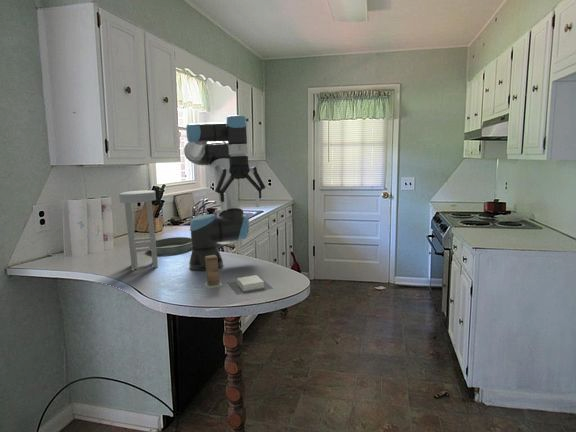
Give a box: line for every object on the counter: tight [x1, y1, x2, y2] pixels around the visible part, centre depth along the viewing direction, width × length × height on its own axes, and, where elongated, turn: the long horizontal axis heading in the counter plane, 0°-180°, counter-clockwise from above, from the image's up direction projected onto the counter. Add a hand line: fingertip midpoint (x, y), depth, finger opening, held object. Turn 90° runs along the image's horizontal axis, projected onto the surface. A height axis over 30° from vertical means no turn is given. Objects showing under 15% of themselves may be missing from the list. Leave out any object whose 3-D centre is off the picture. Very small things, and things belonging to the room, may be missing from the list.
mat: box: [227, 276, 273, 295], centre depth 159 cm, size 15×14×1 cm
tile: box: [236, 274, 264, 291], centre depth 158 cm, size 3×8×9 cm
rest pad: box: [203, 280, 223, 290], centre depth 162 cm, size 6×6×1 cm
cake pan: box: [148, 236, 192, 255], centre depth 226 cm, size 25×25×4 cm
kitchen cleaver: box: [218, 241, 236, 249], centre depth 233 cm, size 24×1×10 cm
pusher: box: [205, 255, 220, 286], centre depth 161 cm, size 4×4×11 cm
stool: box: [119, 189, 159, 270], centre depth 193 cm, size 16×16×35 cm
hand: (241, 208), depth 168 cm, fingers open, 13 cm apart
